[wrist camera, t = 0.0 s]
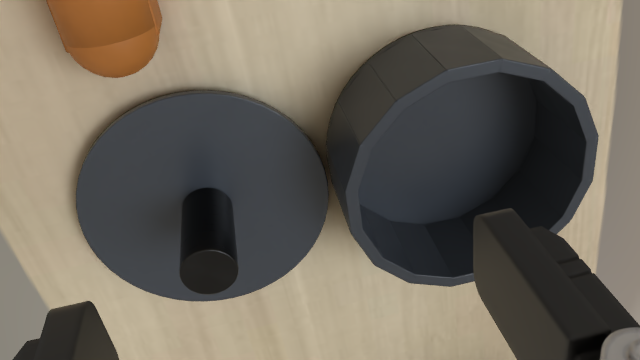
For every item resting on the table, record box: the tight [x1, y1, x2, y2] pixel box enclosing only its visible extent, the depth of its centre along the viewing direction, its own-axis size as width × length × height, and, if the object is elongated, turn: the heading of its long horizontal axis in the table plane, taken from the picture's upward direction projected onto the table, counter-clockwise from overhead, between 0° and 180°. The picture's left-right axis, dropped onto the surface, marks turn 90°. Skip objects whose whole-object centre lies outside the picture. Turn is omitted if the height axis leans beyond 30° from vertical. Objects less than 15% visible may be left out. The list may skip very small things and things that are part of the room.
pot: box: [326, 25, 599, 287], centre depth 34 cm, size 14×14×6 cm
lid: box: [76, 90, 329, 301], centre depth 33 cm, size 15×15×7 cm
